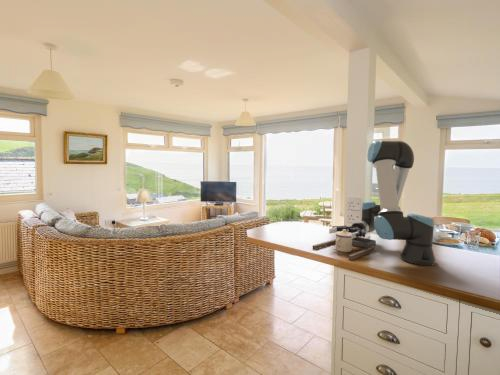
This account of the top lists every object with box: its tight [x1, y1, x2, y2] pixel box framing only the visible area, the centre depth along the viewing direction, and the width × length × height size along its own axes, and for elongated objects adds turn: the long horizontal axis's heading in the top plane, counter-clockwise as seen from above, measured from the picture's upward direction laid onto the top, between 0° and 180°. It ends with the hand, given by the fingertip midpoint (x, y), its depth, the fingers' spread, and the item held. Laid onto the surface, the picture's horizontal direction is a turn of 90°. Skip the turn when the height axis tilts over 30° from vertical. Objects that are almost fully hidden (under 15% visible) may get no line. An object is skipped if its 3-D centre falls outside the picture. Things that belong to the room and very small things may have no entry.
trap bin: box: [352, 236, 377, 249], centre depth 171 cm, size 14×11×3 cm
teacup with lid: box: [335, 229, 353, 253], centre depth 158 cm, size 12×9×12 cm
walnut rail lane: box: [312, 238, 376, 261], centre depth 158 cm, size 24×25×2 cm
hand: (340, 233), depth 156 cm, fingers open, 13 cm apart
